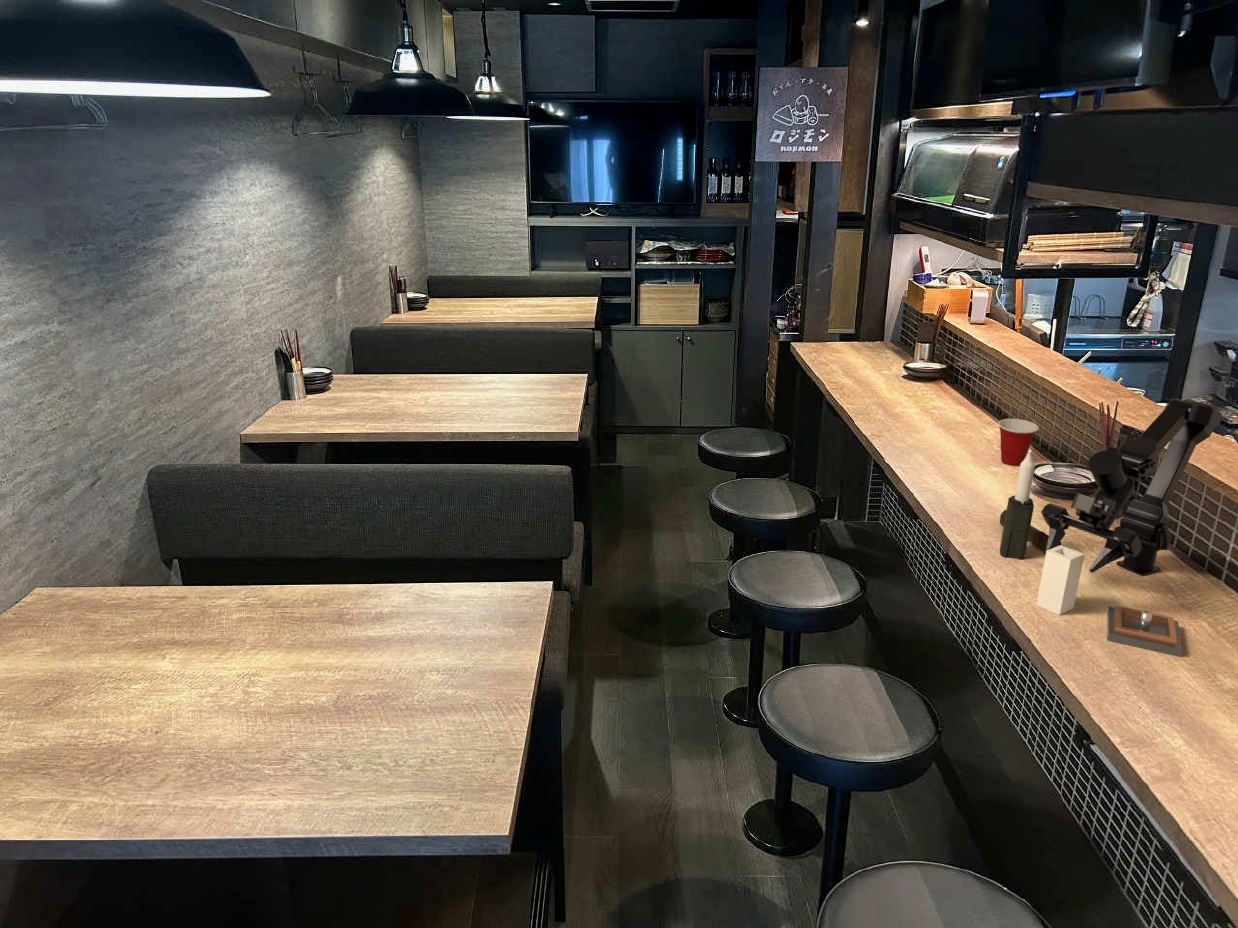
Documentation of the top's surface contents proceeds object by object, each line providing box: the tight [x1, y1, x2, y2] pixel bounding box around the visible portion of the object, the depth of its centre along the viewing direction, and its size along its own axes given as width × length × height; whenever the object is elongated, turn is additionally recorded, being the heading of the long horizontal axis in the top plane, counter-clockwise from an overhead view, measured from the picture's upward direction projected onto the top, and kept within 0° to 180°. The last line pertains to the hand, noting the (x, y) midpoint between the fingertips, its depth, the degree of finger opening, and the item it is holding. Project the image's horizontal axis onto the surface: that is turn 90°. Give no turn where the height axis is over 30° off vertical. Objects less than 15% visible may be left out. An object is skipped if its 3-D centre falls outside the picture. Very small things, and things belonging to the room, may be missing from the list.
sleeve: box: [1035, 544, 1085, 616], centre depth 183 cm, size 5×5×12 cm
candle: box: [999, 449, 1036, 561], centre depth 205 cm, size 5×5×25 cm
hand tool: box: [999, 508, 1062, 555], centre depth 217 cm, size 19×4×5 cm, turn 13°
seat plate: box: [1106, 605, 1183, 658], centre depth 175 cm, size 12×12×4 cm
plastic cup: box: [997, 418, 1040, 467], centre depth 267 cm, size 11×11×12 cm
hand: (1068, 562), depth 183 cm, fingers open, 9 cm apart
